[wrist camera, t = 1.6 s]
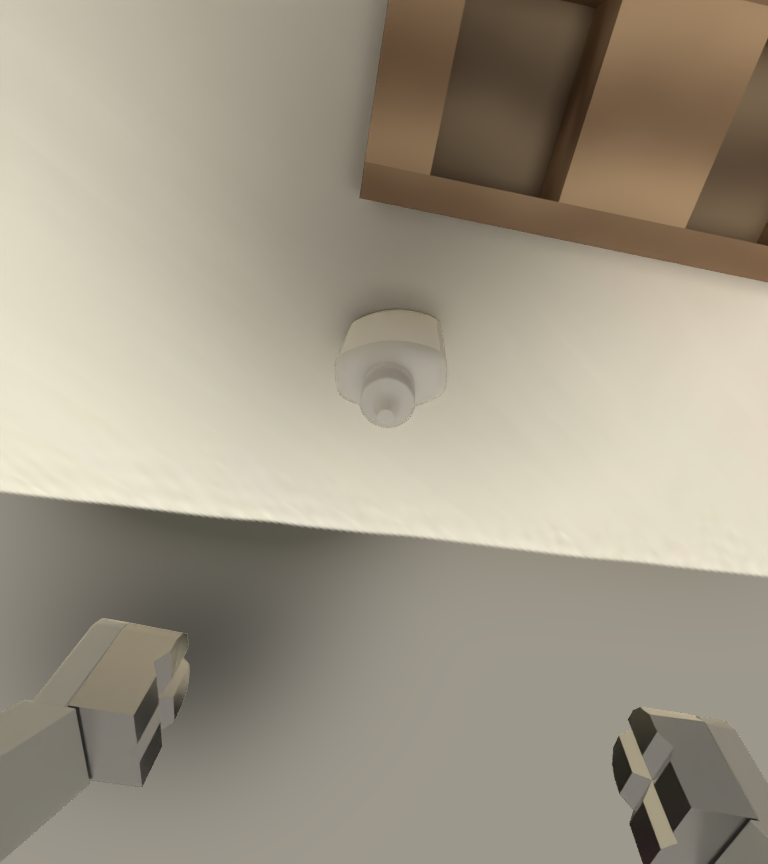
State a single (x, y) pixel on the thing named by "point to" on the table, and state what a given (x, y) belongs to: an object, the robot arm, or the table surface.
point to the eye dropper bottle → (391, 364)
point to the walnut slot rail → (581, 122)
